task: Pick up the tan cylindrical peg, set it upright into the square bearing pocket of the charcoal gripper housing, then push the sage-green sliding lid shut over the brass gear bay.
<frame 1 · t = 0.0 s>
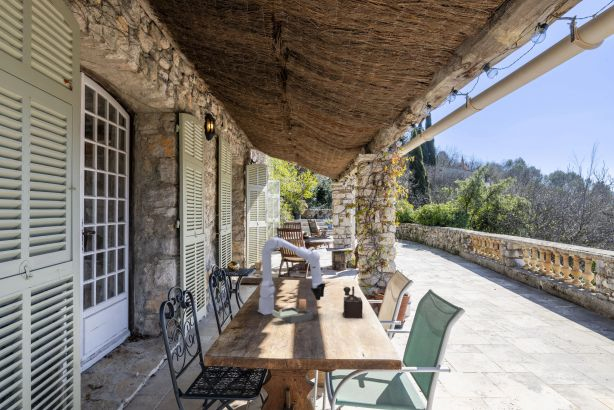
hand: (320, 298, 197), 11 cm above the table, tool pointing down, fingers open, 7 cm apart
lid: (285, 312, 188), point 5 cm above the table, slide at -8.0 cm
housing: (294, 317, 196), on the table
manual coffee grinder: (352, 317, 198), on the table
tan cylindrical peg: (302, 311, 207), on the table
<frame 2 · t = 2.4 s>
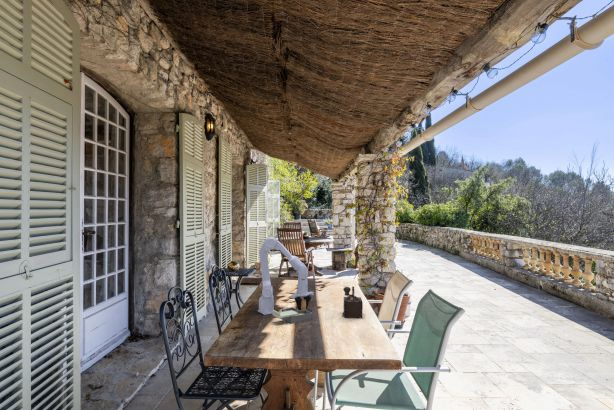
hand: (302, 309, 208), 2 cm above the table, tool pointing down, fingers closed on tan cylindrical peg, 4 cm apart
tan cylindrical peg: (302, 311, 207), on the table, touching gripper
everything else where it was.
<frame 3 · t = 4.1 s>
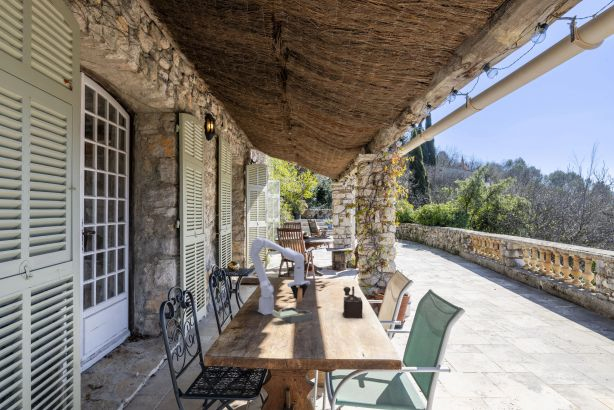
hand: (298, 297, 205), 9 cm above the table, tool pointing down, fingers closed on tan cylindrical peg, 4 cm apart
tan cylindrical peg: (298, 300, 205), point 7 cm above the table, touching gripper
everything else where it was.
when the fingers open (4 cm above the table, at t = 6.0 s): tan cylindrical peg drops 2 cm, resting on housing.
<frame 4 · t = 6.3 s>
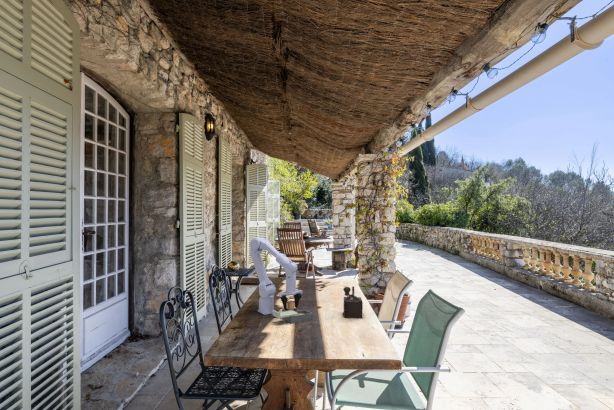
hand: (290, 308, 200), 4 cm above the table, tool pointing down, fingers open, 7 cm apart
tan cylindrical peg: (290, 314, 199), point 1 cm above the table, touching housing
everything else where it was.
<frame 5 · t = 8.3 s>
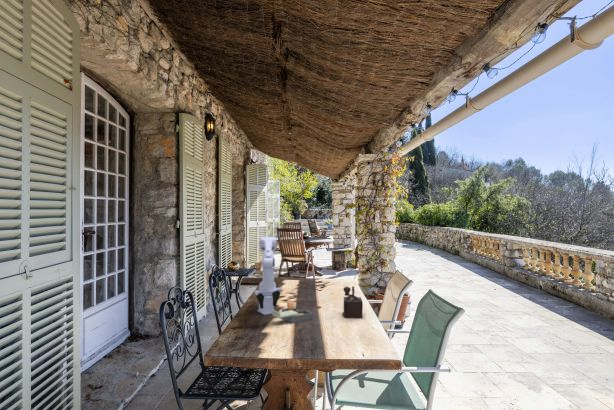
hand: (268, 307, 183), 9 cm above the table, tool pointing down, fingers open, 7 cm apart
nothing on the table moved.
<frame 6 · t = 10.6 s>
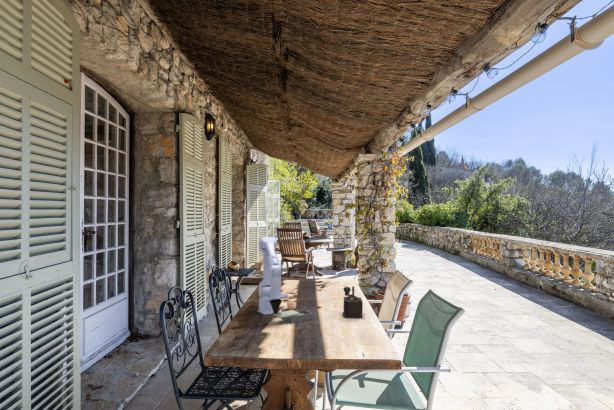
hand: (275, 313, 185), 5 cm above the table, tool pointing down, fingers closed
lid: (286, 312, 189), point 5 cm above the table, slide at -7.2 cm, touching gripper
everything else where it was.
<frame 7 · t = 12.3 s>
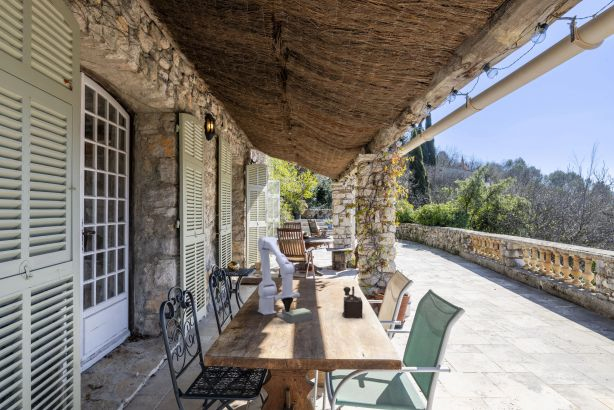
hand: (287, 311, 189), 5 cm above the table, tool pointing down, fingers closed
lid: (298, 310, 193), point 5 cm above the table, slide at -0.1 cm, touching gripper
everything else where it was.
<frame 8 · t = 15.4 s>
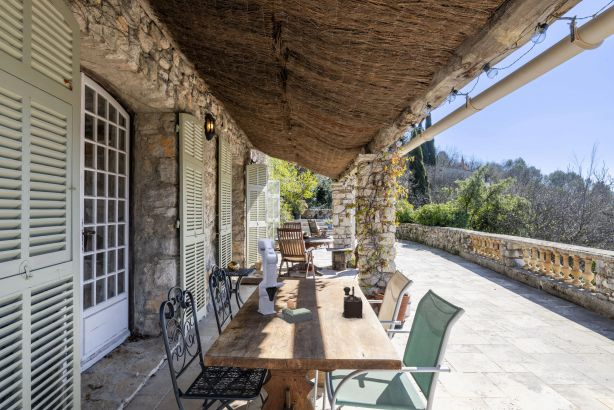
hand: (271, 301, 191), 10 cm above the table, tool pointing down, fingers closed
lid: (298, 310, 193), point 5 cm above the table, slide at -0.1 cm
everything else where it was.
at the end: tan cylindrical peg 0.0 cm from the target spot on the housing, point 1.0 cm above the housing's base; tan cylindrical peg tilted 0°; lid slide at -0.1 cm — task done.
